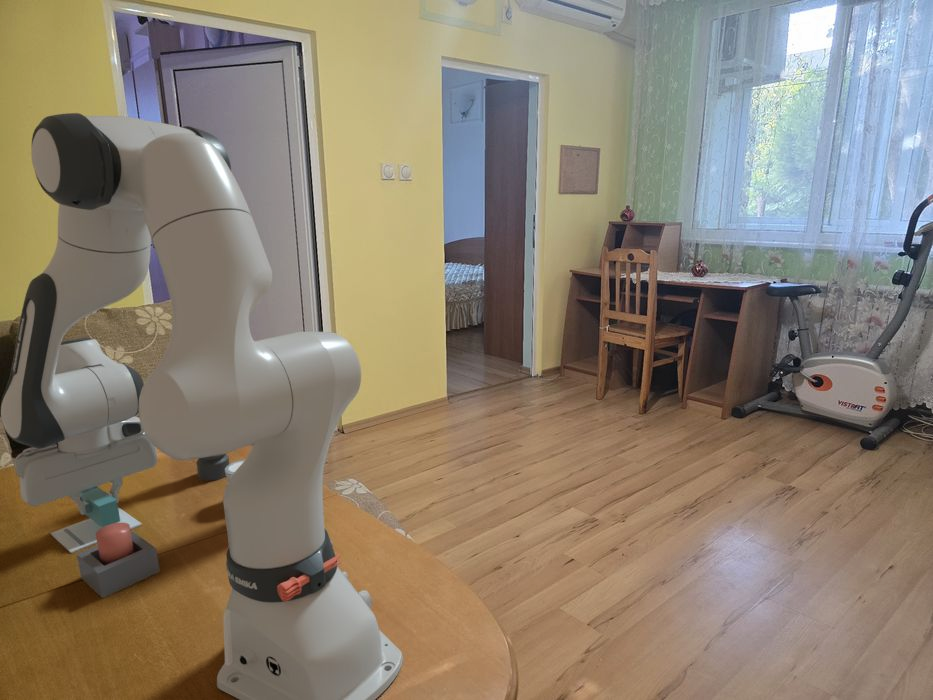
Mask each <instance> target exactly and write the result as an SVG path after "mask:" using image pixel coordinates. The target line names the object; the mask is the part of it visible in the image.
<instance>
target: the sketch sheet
mask: <svg viewBox="0 0 933 700" xmlns="http://www.w3.org/2000/svg"><path fill="white" fill-rule="evenodd" d="M118 510H119V516H120V522H117V523H128V524H129V525H130V531H131V530H134V529H136V528H138V527H141V526H143V524H142V522H140V521H139V520H137V519H136V518H134V517H133V516H132V515H130V514H129V513H128V512H126V511H124V510H123V509H122V508H120V507H118ZM101 528H102V527H100V526H99V525H98V524H97V523H95V522H94V521H93V520H92V519H90V518H88V519H84V520H82V521H79V522H76V523H74V524H71V525H68V526H65V527H63V528H61V529H58V530H55V531H52V532H50V535H51V536H52V537H53V538H54V539H55V540H56V541H57V542H58V543H59V544H60V545H62V547H64V548H65V549H66V550H67V551H68V552H69V553H70V554H74V553H76V552H78V551H81V550H84V549H85V548H88V547H90V546H93V545H97V540H96V532H97V531H98V530H99V529H101Z"/></svg>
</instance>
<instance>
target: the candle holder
mask: <svg viewBox="0 0 933 700" xmlns="http://www.w3.org/2000/svg"><path fill="white" fill-rule="evenodd" d="M195 463H196V464H195V465H196V470H197V471H196V472H197V476H198V479H199V480H201V481H204V482H212V481H217V480H222V479H224V478H227V477H226V473H225V468H226V467H227V466H228V465H229V464H230V457H229V455H228V454H227V453H226V454H222V455H216V456H210V457H204V458H197V461H196V462H195Z"/></svg>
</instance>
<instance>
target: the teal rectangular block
mask: <svg viewBox="0 0 933 700" xmlns="http://www.w3.org/2000/svg"><path fill="white" fill-rule="evenodd" d="M107 493H108V492H106V491H104V490H103V489H102V488H100V487H99V486H95V487H92V488H89V489H86V490H83V491H81V494H82V497H80V498H79V499H80V500H81V501H82V502H83V501H86V500H87V501H88V502H90V503H91V506H92V507H91V509H92V512H90V513H88V514H85V515H84V516H87V517H88V519H92V520H93V521H94V522H95V523H97V524H98V525H99V526H100V527H105V526H107V525H110V524H114V523H117V522H120V516H119V510H118V508H119V506H118V503H117V500H116V499H114V498H113V497H112V496H110V495H109V494H107Z"/></svg>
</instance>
